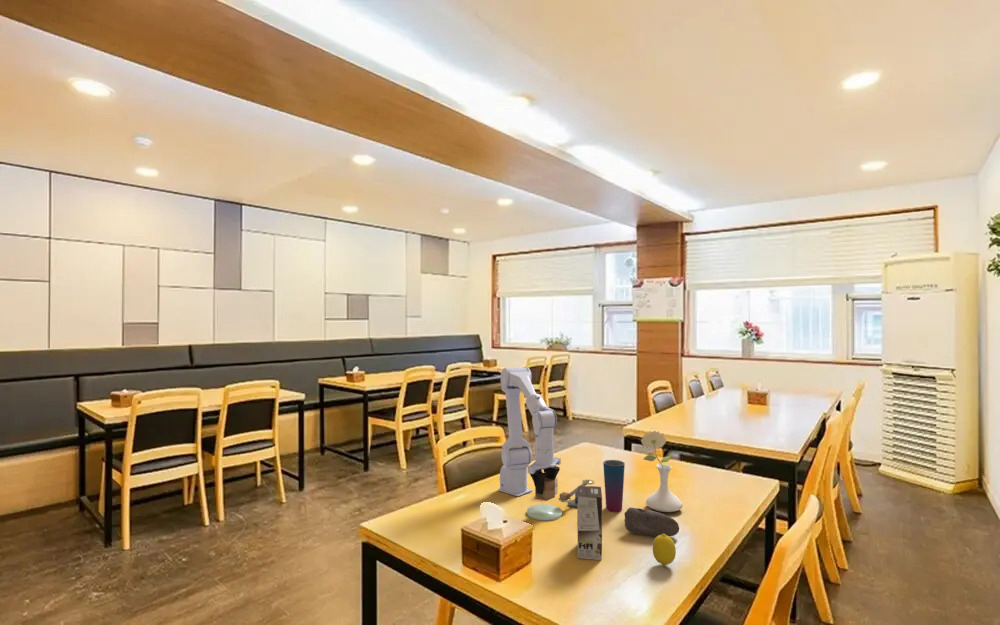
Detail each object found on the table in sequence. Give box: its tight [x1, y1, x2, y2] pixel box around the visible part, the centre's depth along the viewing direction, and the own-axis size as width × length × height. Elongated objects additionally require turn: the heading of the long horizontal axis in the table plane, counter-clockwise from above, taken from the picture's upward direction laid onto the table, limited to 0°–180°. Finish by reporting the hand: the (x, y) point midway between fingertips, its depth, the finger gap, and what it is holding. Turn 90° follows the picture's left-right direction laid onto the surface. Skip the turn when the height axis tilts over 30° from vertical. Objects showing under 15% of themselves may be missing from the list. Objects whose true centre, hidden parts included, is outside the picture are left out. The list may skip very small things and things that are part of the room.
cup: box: [602, 459, 626, 513], centre depth 168 cm, size 7×7×15 cm
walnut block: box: [534, 477, 556, 502], centre depth 164 cm, size 4×4×6 cm
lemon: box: [652, 534, 677, 567], centre depth 130 cm, size 6×6×8 cm
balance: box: [558, 479, 595, 509], centre depth 172 cm, size 4×18×6 cm, turn 137°
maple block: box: [555, 477, 559, 496], centre depth 182 cm, size 4×4×6 cm
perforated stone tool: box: [623, 507, 680, 538], centre depth 148 cm, size 15×5×7 cm, turn 69°
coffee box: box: [576, 485, 603, 561], centre depth 138 cm, size 9×6×16 cm
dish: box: [526, 503, 563, 522], centre depth 164 cm, size 11×11×1 cm
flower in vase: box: [640, 430, 684, 513], centre depth 168 cm, size 13×11×25 cm
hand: (544, 491), depth 164 cm, fingers closed on walnut block, 4 cm apart
